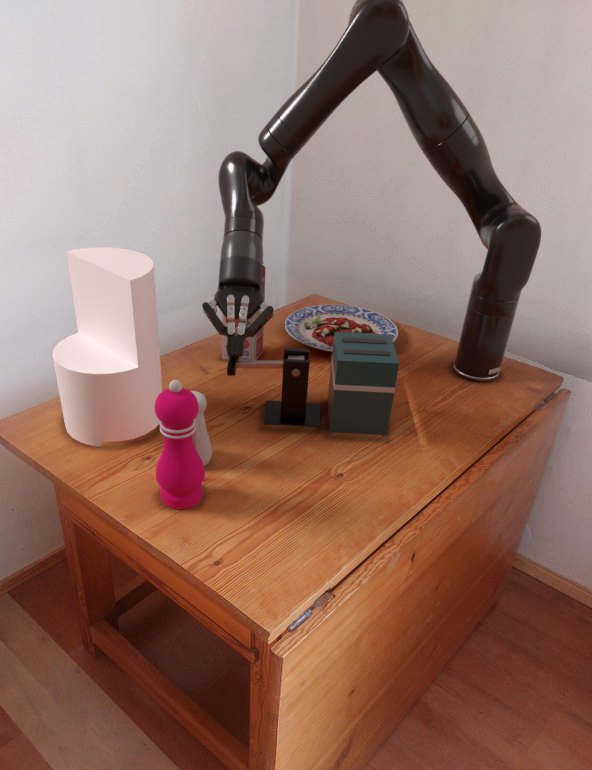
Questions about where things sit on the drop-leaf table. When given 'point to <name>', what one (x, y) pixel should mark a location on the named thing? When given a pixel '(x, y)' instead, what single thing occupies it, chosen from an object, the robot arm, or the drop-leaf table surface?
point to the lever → (255, 364)
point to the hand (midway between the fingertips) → (234, 358)
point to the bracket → (294, 394)
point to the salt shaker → (201, 431)
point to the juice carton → (251, 344)
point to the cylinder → (110, 347)
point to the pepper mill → (178, 448)
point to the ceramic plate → (335, 324)
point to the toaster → (362, 383)
